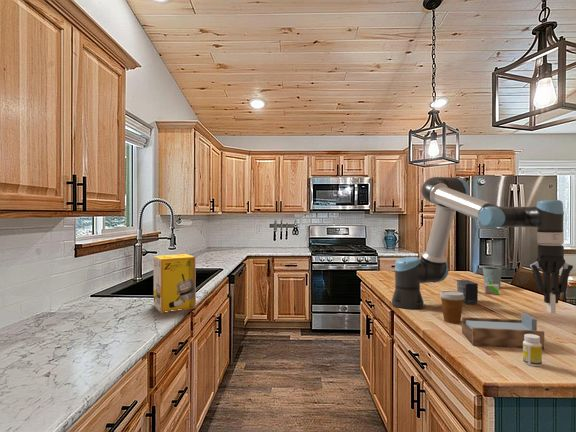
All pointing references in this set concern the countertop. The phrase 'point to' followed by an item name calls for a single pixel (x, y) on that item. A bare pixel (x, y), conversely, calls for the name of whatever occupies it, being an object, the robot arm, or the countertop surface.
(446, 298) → the disposable coffee cup
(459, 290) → the small box
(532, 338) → the supplement bottle
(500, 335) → the box body
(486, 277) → the drinking glass
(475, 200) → the robot arm
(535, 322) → the cover plate
